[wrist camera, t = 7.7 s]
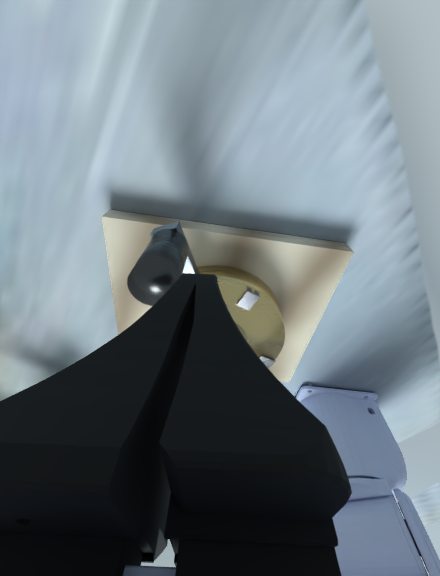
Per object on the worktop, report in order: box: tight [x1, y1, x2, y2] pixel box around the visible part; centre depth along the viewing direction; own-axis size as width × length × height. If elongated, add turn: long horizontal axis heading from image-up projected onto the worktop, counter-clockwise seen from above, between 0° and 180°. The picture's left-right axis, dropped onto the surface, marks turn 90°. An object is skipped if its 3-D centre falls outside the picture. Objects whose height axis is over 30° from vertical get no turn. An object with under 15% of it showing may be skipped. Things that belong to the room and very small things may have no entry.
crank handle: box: [127, 221, 285, 368], centre depth 18 cm, size 16×11×8 cm
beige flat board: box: [102, 210, 354, 383], centre depth 23 cm, size 18×16×2 cm
